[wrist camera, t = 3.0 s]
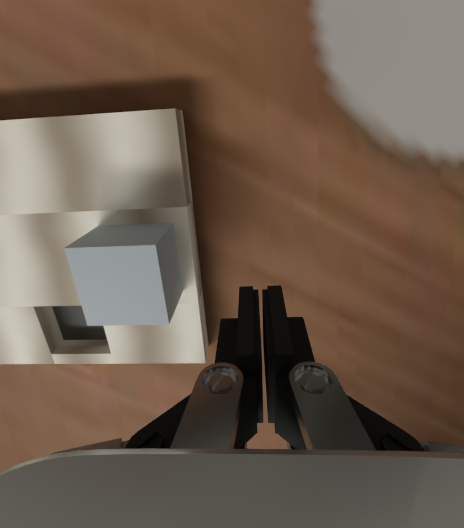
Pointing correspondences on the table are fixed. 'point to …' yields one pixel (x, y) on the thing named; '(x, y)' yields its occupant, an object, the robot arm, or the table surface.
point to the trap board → (83, 221)
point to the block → (127, 274)
